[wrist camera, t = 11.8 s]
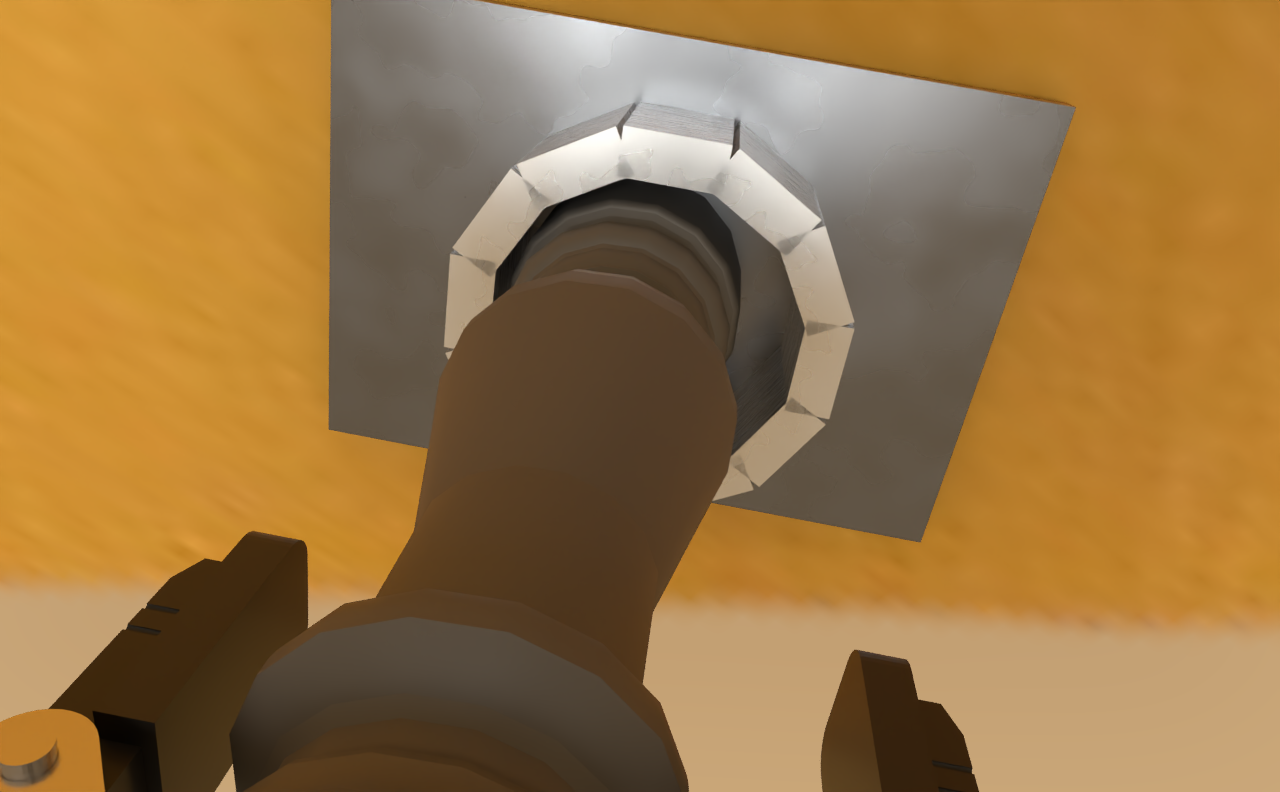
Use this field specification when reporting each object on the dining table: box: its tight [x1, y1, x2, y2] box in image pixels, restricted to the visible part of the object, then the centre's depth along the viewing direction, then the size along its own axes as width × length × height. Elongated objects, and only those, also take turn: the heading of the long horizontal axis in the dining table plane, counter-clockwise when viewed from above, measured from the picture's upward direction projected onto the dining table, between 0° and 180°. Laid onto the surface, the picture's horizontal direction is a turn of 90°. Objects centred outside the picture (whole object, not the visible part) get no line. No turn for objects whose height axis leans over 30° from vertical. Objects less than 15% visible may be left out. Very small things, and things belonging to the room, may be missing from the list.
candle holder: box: [229, 178, 741, 792], centre depth 16 cm, size 6×6×25 cm
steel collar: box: [329, 0, 1076, 542], centre depth 26 cm, size 20×14×5 cm
